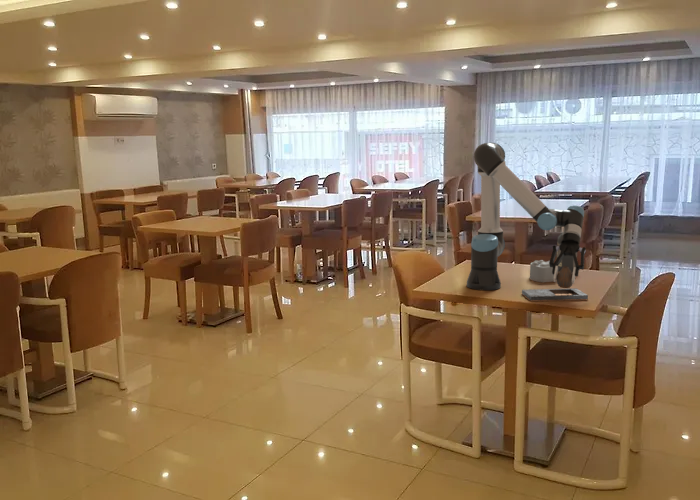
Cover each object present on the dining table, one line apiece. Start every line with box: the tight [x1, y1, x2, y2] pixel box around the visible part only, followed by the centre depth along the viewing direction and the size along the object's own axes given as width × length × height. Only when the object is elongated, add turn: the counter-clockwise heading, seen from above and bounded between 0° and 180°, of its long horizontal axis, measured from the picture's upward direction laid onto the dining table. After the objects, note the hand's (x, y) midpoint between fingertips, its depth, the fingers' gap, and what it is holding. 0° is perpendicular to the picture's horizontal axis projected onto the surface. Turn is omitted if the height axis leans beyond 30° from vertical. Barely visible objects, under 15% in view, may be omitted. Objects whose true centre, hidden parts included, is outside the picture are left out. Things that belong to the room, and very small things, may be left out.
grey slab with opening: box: [521, 288, 589, 302], centre depth 264 cm, size 24×12×2 cm, turn 92°
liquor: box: [556, 231, 578, 274], centre depth 313 cm, size 9×9×30 cm
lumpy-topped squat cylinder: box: [529, 259, 554, 283], centre depth 297 cm, size 10×13×9 cm
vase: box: [556, 267, 573, 289], centre depth 263 cm, size 7×7×9 cm
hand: (563, 280), depth 260 cm, fingers closed on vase, 7 cm apart
